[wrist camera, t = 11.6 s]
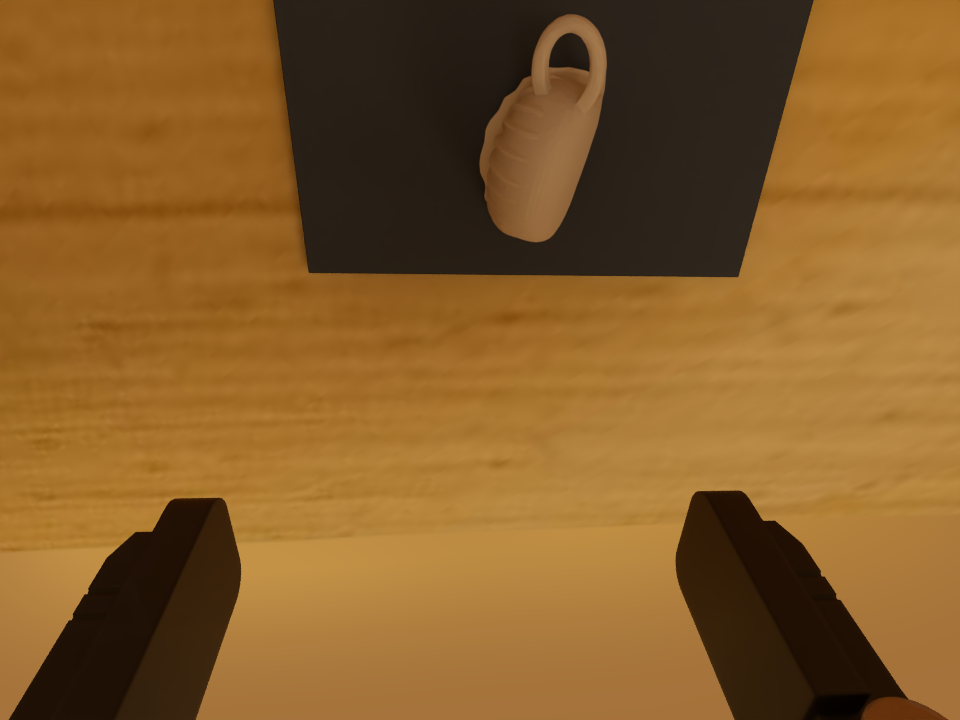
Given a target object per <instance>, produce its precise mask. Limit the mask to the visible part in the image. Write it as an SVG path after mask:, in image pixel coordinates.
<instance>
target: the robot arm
mask: <svg viewBox="0 0 960 720" xmlns="http://www.w3.org/2000/svg"><path fill="white" fill-rule="evenodd" d="M676 572H677V578H678V582H679V586H680V589H681V591H682V594H683V596H684V598H685V601H686V603H687V606H688V608H689V610H690V613H691V615H692V618H693V620H694V622H695V625H696V627H697V630H698V632H699V635H700V637H701V639H702V642H703V644H704V647H705V649H706V651H707V654H708V656H709V659H710V661H711V664H712V666H713V668H714V671H715V673H716V676H717V678H718V681H719V683H720V685H721V688H722V690H723V693H724V695H725V697H726V700H727V702H728V705H729V707H730V709H731V712H732V714H733V717H734V719H735V720H948V719H946V718H945V717H943V716H942V715H940V714H939V713H937V712H936V711H934V710H932V709H930V708H929V707H927V706H925V705H922V704H920V703H918V702H915V701H912V700H909V699H908V698H907V697H906V696H905V694H904V693H903V692H902V691H901V689H900V688H899V686H898V685H897V684H896V682H895V680H894V679H893V677H892V676H891V674H890V673H889V671H888V670H887V668H886V667H885V665H884V664H883V662H882V661H881V659H880V658H879V656H878V655H877V654H876V652H875V651H874V649H873V648H872V646H871V645H870V643H869V642H868V640H867V639H866V637H865V636H864V635H863V633H862V631H861V630H860V629H859V627H858V625H857V624H856V622H855V621H854V619H853V618H852V617H851V615H850V614H849V612H848V611H847V609H846V608H845V606H844V605H843V603H842V602H841V600H837V598H836V593H835V591H834V590H833V588H832V587H831V585H830V584H829V583H828V581H827V580H826V578H825V577H822V576H821V574H820V573H821V571H820V569H819V568H818V566H817V565H816V563H815V562H814V560H813V559H812V557H811V556H810V554H809V553H808V551H807V550H806V548H805V547H804V545H803V544H802V543H801V542H800V541H798V540H797V539H796V538H795V537H794V536H792V535H791V534H790V533H789V532H788V531H787V530H785V529H784V528H783V527H782V526H781V525H779V524H778V523H777V522H776V521H763V520H762V518H761V517H760V515H759V514H758V512H757V510H756V509H755V507H754V506H753V504H752V503H751V501H750V499H749V498H748V497H747V495H746V494H745V493H743V492H742V491H697V492H695V494H694V495H693V497H692V499H691V502H690V506H689V509H688V513H687V516H686V520H685V523H684V527H683V530H682V534H681V537H680V541H679V544H678V548H677V552H676ZM240 581H241V563H240V557H239V553H238V550H237V545H236V541H235V537H234V533H233V529H232V525H231V521H230V517H229V513H228V509H227V506H226V503H225V501H224V500H223V499H222V498H182V499H173V500H171V501H170V502H169V503H168V505H167V506H166V508H165V510H164V511H163V513H162V515H161V517H160V519H159V521H158V522H157V524H156V526H155V528H154V530H153V531H152V532H135V533H134V534H133V535H132V536H131V537H130V538H129V539H127V540H126V541H125V542H124V543H123V544H122V545H121V546H120V547H118V548H117V549H116V550H115V551H114V552H113V553H112V554H111V555H110V556H108V557H107V559H106V560H105V562H104V563H103V565H102V567H101V569H100V570H99V572H98V573H97V575H96V577H95V578H94V580H93V581H92V583H91V585H90V586H89V588H88V589H89V591H88V594H85V595H84V597H83V598H82V600H81V601H80V603H79V605H78V606H77V608H76V610H75V611H74V613H73V619H72V620H70V621H68V623H67V624H66V626H65V628H64V630H63V631H62V633H61V634H60V636H59V638H58V639H57V641H56V643H55V644H54V646H53V648H52V649H51V651H50V652H49V654H48V656H47V657H46V659H45V661H44V662H43V664H42V666H41V667H40V669H39V671H38V673H37V674H36V676H35V678H34V679H33V681H32V682H31V684H30V686H29V687H28V689H27V690H26V692H25V694H24V695H23V697H22V699H21V700H20V702H19V704H18V705H17V707H16V709H15V711H14V712H13V714H12V715H11V717H10V719H9V720H196V717H197V714H198V711H199V708H200V705H201V702H202V699H203V696H204V694H205V690H206V688H207V685H208V682H209V679H210V676H211V673H212V670H213V667H214V664H215V661H216V659H217V656H218V653H219V650H220V647H221V644H222V641H223V638H224V635H225V632H226V629H227V627H228V624H229V620H230V617H231V615H232V612H233V609H234V606H235V603H236V600H237V597H238V593H239V588H240Z"/></svg>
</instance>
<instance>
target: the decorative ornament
mask: <svg viewBox="0 0 960 720" xmlns="http://www.w3.org/2000/svg"><path fill="white" fill-rule="evenodd" d="M566 33H574V34H576V35H578V36H580V37H581V38H582V40H583V41H584V43H585V44H586V47H587V49H588V53H589V59H590V72H588V71H585V70H580V69H575V68H571V67H565V68H552V67H549V58H550V54H551V50H552V48H553V46H554V44H555V42H556V41H557V40H558V38H559V37H561V36H562V35H564V34H566ZM606 68H607V60H606V50H605V46H604V42H603V39H602V37H601V35H600V33H599V31H598V30H597V28H596V27H595V26H594V25H593V24H592V23H591V22H590V21H589V20H588V19H586V18H585V17H582V16H579V15H575V14H567V15H564V16H561V17H559V18H557V19H555V20H554V21H553V22H552V23H551V24H549V25H548V27H547V28H546V29H545V30H544V32H543V33H542V35H541V37H540V38H539V41H538V43H537V46H536V48H535V52H534V55H533V60H532V71H531V75H532V76H529V77H527V78H524V79H523V80H522V82H521V83H520V85H519V86H518V88H517V89H516V91H514V92H512V93H511V94H509V95H508V96H506V97H505V98H504V100H503V102H502V104H501V106H500V109H499V111H498V112H497V113H496V114H495V115H494V116H493V118H492V119H491V120H490V122H489V124H488V126H487V128H486V131H485V141H484V145H483V148H482V152H481V155H480V162H479V164H480V173H481V176H482V178H483V180H484V182H485V187H486V188H485V195H484V197H485V200H486V201H487V208H488V211H489V214H490V215H491V217H492V220H493V222H494V223H495V225H496V226H497V227H498V229H499V230H501V231H502V232H503V233H505V234H507V235H510V236H512V237H517V238H520V239H522V240H525V241H530V242H541V241H545V240H547V239H549V238H550V237H551V236H552V235H553V234H554V233H555V232H556V230H557V229H558V227H559V226H560V224H561V223H562V221H563V219H564V217H565V215H566V213H567V210H568V208H569V206H570V203H571V201H572V198H573V195H574V192H575V190H576V187H577V184H578V181H579V178H580V176H581V173H582V170H583V167H584V164H585V162H586V159H587V156H588V153H589V150H590V147H591V144H592V141H593V138H594V135H595V132H596V129H597V126H598V121H599V116H600V111H601V106H602V99H603V94H604V90H605V81H606V77H605V76H606Z"/></svg>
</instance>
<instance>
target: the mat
mask: <svg viewBox="0 0 960 720" xmlns="http://www.w3.org/2000/svg"><path fill="white" fill-rule="evenodd" d="M273 1H274V9H275V16H276V24H277V32H278V39H279V47H280V55H281V63H282V70H283V78H284V86H285V93H286V101H287V109H288V116H289V124H290V132H291V140H292V147H293V155H294V163H295V170H296V178H297V186H298V194H299V201H300V209H301V217H302V224H303V232H304V240H305V247H306V255H307V263H308V271H309V273H376V274H477V275H578V276H679V277H738V276H739V272H740V268H741V265H742V261H743V257H744V254H745V250H746V246H747V243H748V239H749V235H750V232H751V228H752V224H753V221H754V217H755V213H756V210H757V206H758V202H759V199H760V195H761V191H762V188H763V184H764V180H765V176H766V173H767V169H768V165H769V162H770V158H771V154H772V151H773V147H774V143H775V140H776V136H777V132H778V129H779V125H780V121H781V118H782V114H783V110H784V107H785V103H786V99H787V96H788V92H789V88H790V85H791V81H792V77H793V74H794V70H795V66H796V63H797V59H798V55H799V52H800V48H801V44H802V41H803V37H804V33H805V30H806V26H807V22H808V19H809V15H810V11H811V7H812V4H813V0H273ZM567 14H575V15H579V16H582V17H585V18H586V19H588V20H589V21H590V22H591V23H592V24H593V25H594V26H595V27H596V28H597V30H598V31H599V33H600V35H601V37H602V39H603V42H604V46H605V50H606V60H607V68H606V76H605V77H606V81H605V90H604V94H603V99H602V106H601V111H600V116H599V121H598V126H597V129H596V132H595V135H594V138H593V141H592V144H591V147H590V150H589V153H588V156H587V159H586V162H585V164H584V167H583V170H582V173H581V176H580V178H579V181H578V184H577V187H576V190H575V192H574V195H573V198H572V201H571V203H570V206H569V208H568V210H567V213H566V215H565V217H564V219H563V221H562V223H561V224H560V226H559V227H558V229H557V230H556V232H555V233H554V234H553V235H552V236H551V237H550V238H549V239H547V240H545V241H541V242H530V241H525V240H522V239H520V238H517V237H512V236H510V235H507V234H505V233H503V232H502V231H501V230H499V229H498V227H497V226H496V225H495V223H494V222H493V220H492V217H491V215H490V214H489V211H488V208H487V201H486V200H485V197H484V195H485V188H486V187H485V182H484V180H483V178H482V176H481V173H480V164H479V162H480V155H481V152H482V148H483V145H484V141H485V131H486V128H487V126H488V124H489V122H490V120H491V119H492V118H493V116H494V115H495V114H496V113H497V112H498V111H499V109H500V106H501V104H502V102H503V100H504V98H505V97H506V96H508V95H509V94H511V93H512V92H514V91H516V89H517V88H518V86H519V85H520V83H521V82H522V80H523V79H524V78H527V77H529V76H532V75H531V71H532V60H533V55H534V52H535V48H536V46H537V43H538V41H539V38H540V37H541V35H542V33H543V32H544V30H545V29H546V28H547V27H548V25H549V24H551V23H552V22H553V21H554V20H555V19H557V18H559V17H561V16H564V15H567ZM549 67H552V68H565V67H571V68H575V69H580V70H585V71H588V72H590V59H589V53H588V49H587V47H586V44H585V43H584V41H583V40H582V38H581V37H580V36H578V35H576V34H574V33H566V34H564V35H562V36H561V37H559V38H558V40H557V41H556V42H555V44H554V46H553V48H552V50H551V54H550V58H549Z"/></svg>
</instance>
